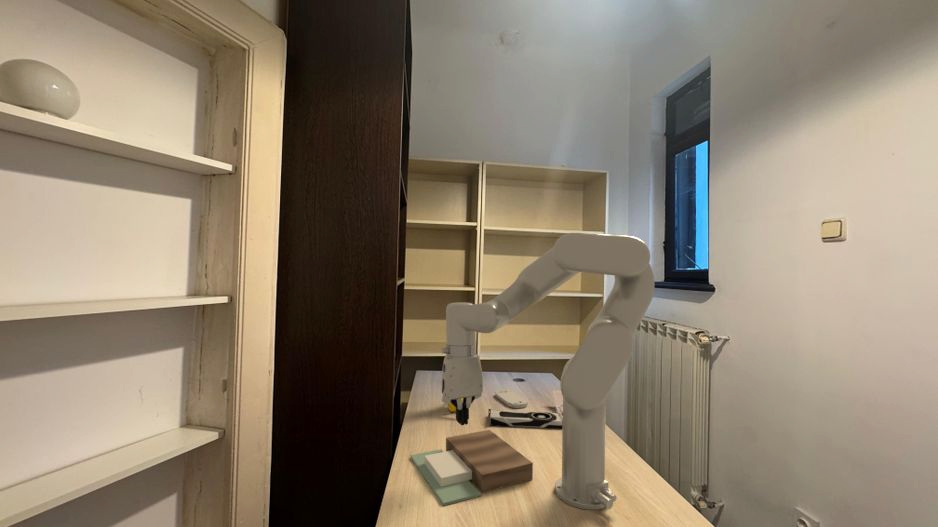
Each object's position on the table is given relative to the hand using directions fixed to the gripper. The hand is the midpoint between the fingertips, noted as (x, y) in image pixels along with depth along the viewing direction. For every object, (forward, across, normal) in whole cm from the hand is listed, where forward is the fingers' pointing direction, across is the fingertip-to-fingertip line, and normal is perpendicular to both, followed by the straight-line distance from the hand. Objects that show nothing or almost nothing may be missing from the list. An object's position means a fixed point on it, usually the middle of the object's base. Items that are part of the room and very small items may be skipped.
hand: (462, 423), depth 97 cm
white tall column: (+13, +50, +20) cm, 55 cm away
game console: (+13, +41, +42) cm, 60 cm away
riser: (+12, +7, +1) cm, 14 cm away
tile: (+12, -4, +1) cm, 12 cm away
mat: (+12, -5, +1) cm, 13 cm away
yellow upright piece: (+12, +16, +42) cm, 46 cm away
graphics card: (+13, +33, +21) cm, 41 cm away
